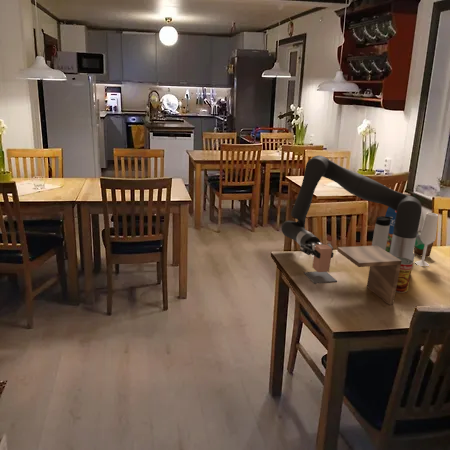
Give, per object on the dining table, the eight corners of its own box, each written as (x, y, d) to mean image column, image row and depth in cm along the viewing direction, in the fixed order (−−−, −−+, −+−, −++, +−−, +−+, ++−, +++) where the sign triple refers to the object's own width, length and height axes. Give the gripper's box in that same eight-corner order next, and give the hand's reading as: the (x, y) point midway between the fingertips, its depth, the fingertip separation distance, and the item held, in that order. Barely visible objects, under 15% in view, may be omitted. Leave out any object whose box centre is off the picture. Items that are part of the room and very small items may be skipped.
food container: (406, 248, 227) (410, 229, 224) (418, 248, 228) (422, 229, 225) (418, 257, 216) (422, 237, 213) (430, 258, 216) (435, 238, 213)
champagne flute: (412, 264, 207) (422, 214, 200) (415, 260, 212) (425, 211, 205) (428, 268, 203) (439, 217, 196) (431, 263, 209) (441, 214, 201)
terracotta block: (323, 266, 189) (326, 244, 186) (328, 271, 184) (332, 248, 181) (312, 267, 187) (315, 244, 184) (317, 272, 183) (321, 249, 180)
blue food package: (384, 247, 227) (392, 198, 220) (408, 253, 220) (417, 204, 212) (379, 250, 223) (387, 200, 215) (403, 257, 215) (412, 206, 208)
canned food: (387, 290, 178) (392, 262, 175) (386, 282, 186) (391, 255, 182) (408, 294, 177) (414, 265, 173) (406, 285, 184) (411, 258, 180)
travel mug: (386, 260, 209) (393, 219, 203) (372, 259, 209) (379, 218, 203) (382, 255, 215) (389, 215, 209) (368, 254, 215) (375, 214, 209)
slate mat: (325, 271, 193) (325, 270, 193) (336, 281, 184) (337, 280, 183) (303, 273, 190) (303, 272, 190) (314, 283, 181) (314, 282, 181)
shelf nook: (369, 286, 181) (376, 245, 176) (393, 304, 167) (401, 260, 162) (331, 289, 177) (337, 247, 171) (352, 308, 162) (359, 263, 157)
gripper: (293, 233, 194) (310, 247, 178) (323, 232, 197) (343, 246, 182) (291, 249, 196) (308, 265, 180) (321, 248, 200) (340, 263, 184)
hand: (325, 255), depth 181 cm, fingers closed on terracotta block, 5 cm apart
